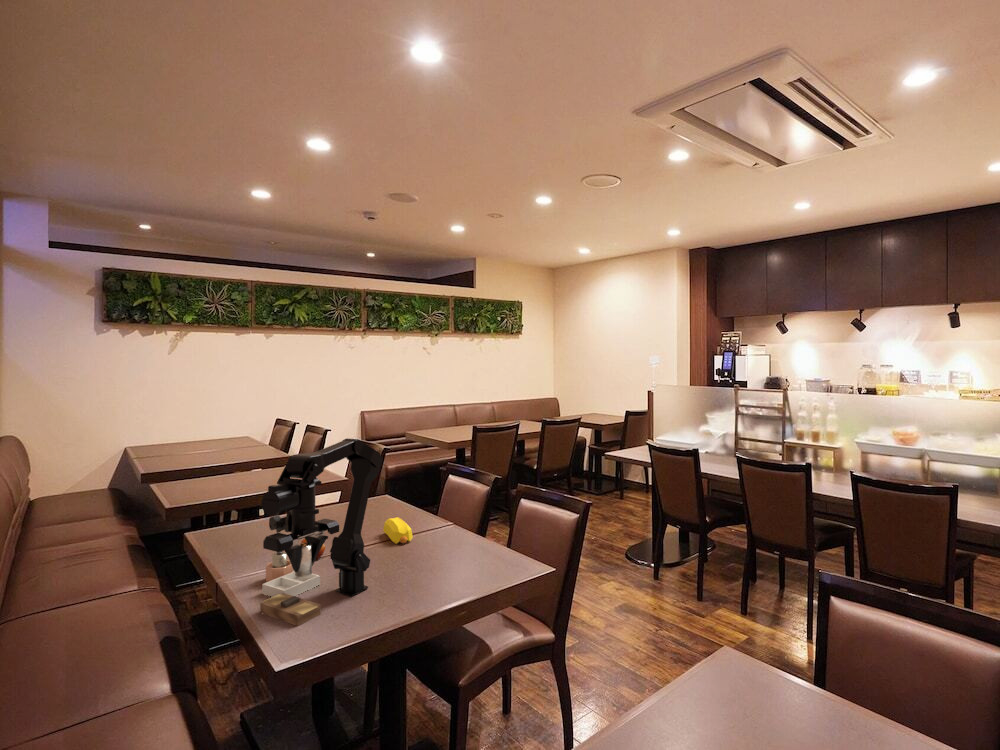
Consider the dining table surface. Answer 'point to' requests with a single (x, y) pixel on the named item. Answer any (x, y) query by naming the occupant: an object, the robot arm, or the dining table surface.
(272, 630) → the dining table surface
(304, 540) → the fruit
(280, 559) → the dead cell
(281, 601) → the cradle
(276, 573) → the cup
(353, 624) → the dining table surface
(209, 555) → the dining table surface
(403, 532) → the yellow lump
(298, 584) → the trough tray
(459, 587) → the dining table surface
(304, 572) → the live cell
